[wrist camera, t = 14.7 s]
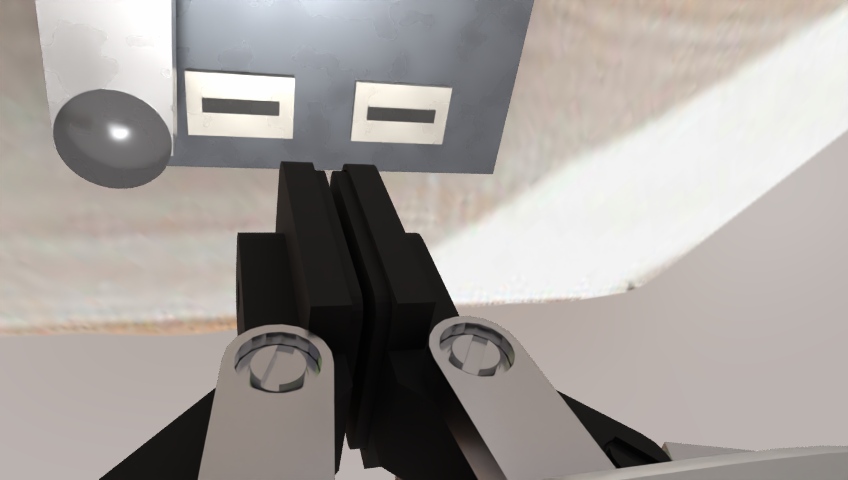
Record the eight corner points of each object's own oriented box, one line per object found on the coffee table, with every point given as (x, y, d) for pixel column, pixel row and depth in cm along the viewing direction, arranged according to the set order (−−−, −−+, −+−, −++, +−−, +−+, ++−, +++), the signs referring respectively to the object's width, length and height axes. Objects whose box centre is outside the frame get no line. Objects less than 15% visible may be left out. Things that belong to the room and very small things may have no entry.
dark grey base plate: (76, 149, 32) (59, 185, 29) (10, -247, 23) (-24, -253, 20) (484, 161, 38) (505, 193, 35) (555, -148, 29) (590, -142, 26)
